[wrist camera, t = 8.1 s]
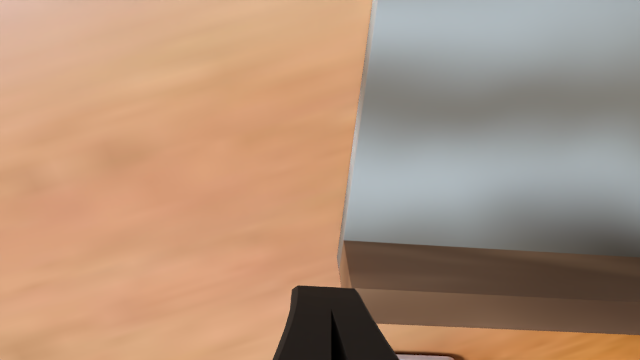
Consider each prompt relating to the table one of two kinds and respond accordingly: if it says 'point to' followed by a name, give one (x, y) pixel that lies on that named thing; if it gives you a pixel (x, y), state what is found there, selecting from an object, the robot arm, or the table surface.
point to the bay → (497, 166)
